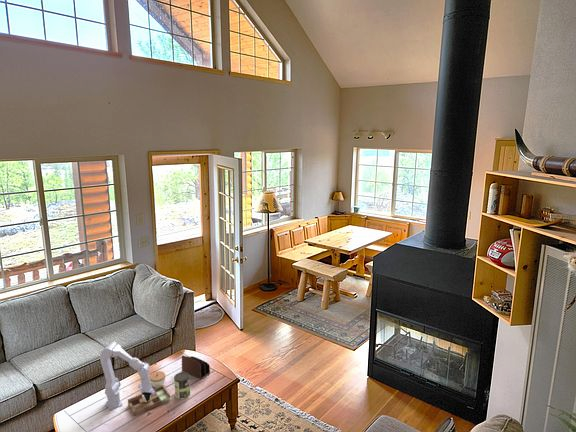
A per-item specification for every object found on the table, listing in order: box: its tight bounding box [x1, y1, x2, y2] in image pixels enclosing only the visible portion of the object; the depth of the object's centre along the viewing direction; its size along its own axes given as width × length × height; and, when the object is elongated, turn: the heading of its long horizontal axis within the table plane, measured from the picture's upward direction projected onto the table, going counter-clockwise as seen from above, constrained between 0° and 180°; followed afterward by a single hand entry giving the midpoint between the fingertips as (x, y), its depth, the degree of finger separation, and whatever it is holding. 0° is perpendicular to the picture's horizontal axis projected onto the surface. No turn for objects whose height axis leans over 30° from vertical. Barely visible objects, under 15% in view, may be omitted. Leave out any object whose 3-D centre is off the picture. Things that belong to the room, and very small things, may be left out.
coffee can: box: [173, 371, 191, 400], centre depth 266 cm, size 10×10×14 cm
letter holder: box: [181, 355, 211, 381], centre depth 291 cm, size 10×20×14 cm, turn 57°
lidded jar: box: [150, 370, 166, 389], centre depth 276 cm, size 11×11×9 cm
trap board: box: [127, 385, 171, 416], centre depth 259 cm, size 12×24×4 cm, turn 128°
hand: (148, 400), depth 255 cm, fingers closed, pressing on cream block
